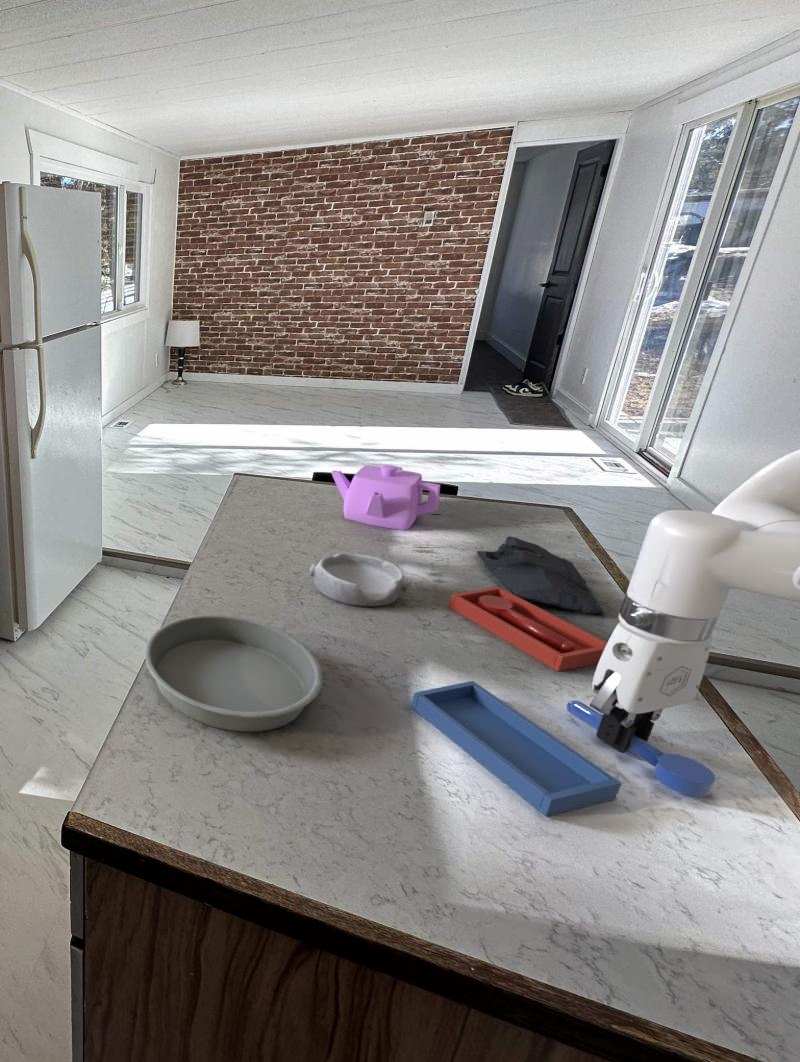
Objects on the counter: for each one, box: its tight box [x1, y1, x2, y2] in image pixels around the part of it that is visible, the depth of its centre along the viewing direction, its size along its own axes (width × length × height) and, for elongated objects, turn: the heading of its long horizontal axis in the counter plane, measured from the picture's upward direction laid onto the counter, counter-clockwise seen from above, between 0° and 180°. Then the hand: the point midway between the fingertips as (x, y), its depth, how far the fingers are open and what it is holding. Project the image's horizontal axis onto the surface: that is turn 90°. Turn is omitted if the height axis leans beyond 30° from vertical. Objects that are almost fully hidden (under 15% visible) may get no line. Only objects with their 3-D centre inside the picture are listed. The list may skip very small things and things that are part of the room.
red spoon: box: [477, 595, 575, 653], centre depth 103 cm, size 15×5×2 cm, turn 12°
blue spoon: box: [565, 700, 716, 798], centre depth 79 cm, size 15×5×2 cm, turn 12°
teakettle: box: [330, 464, 441, 531], centre depth 145 cm, size 17×17×12 cm
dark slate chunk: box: [476, 535, 605, 615], centre depth 116 cm, size 15×22×5 cm
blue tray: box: [410, 680, 622, 817], centre depth 80 cm, size 19×10×2 cm, turn 12°
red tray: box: [448, 586, 608, 672], centre depth 103 cm, size 19×10×2 cm, turn 12°
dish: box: [309, 552, 412, 607], centre depth 117 cm, size 14×14×5 cm
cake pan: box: [144, 614, 323, 733], centre depth 95 cm, size 25×25×4 cm
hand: (619, 741), depth 80 cm, fingers closed on blue spoon, 2 cm apart
